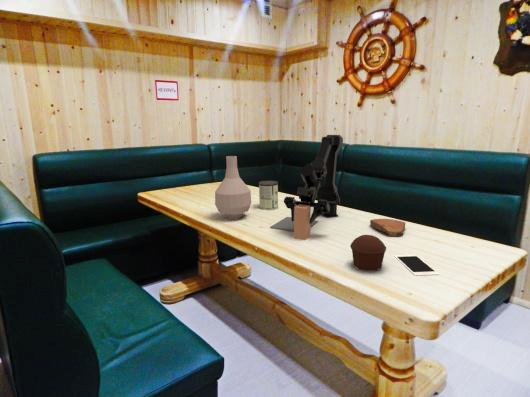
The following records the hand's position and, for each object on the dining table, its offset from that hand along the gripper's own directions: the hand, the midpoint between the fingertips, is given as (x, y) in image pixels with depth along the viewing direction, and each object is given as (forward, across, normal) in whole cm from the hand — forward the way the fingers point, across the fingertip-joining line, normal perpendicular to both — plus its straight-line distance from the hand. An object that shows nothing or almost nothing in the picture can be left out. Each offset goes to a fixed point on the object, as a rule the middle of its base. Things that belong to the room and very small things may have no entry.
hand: (301, 222), depth 143 cm
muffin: (+16, +30, -6) cm, 35 cm away
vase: (-6, -42, +15) cm, 45 cm away
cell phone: (+11, +44, -1) cm, 45 cm away
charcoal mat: (-6, -9, +16) cm, 19 cm away
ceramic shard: (-12, +30, +22) cm, 39 cm away
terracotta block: (+4, 0, +6) cm, 7 cm away
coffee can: (-22, -35, +32) cm, 52 cm away
